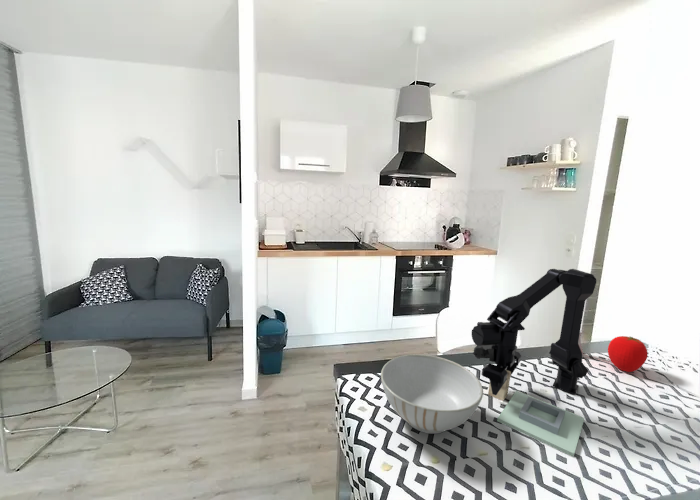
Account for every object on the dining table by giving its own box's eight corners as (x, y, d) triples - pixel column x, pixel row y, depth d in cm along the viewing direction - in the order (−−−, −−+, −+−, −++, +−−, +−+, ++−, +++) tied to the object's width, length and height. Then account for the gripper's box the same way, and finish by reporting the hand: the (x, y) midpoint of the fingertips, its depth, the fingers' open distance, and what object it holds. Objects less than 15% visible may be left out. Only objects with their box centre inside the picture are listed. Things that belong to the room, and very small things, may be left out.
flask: (587, 359, 131) (592, 335, 129) (567, 357, 132) (571, 333, 130) (579, 350, 138) (583, 328, 136) (559, 348, 139) (563, 325, 137)
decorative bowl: (401, 465, 77) (405, 418, 75) (365, 394, 102) (368, 358, 100) (500, 446, 84) (506, 403, 82) (443, 384, 110) (447, 350, 107)
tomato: (610, 372, 122) (617, 339, 120) (601, 359, 132) (607, 328, 129) (648, 380, 118) (657, 346, 115) (636, 366, 128) (644, 334, 125)
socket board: (516, 393, 107) (517, 384, 106) (583, 420, 95) (585, 411, 95) (497, 421, 93) (498, 411, 93) (573, 457, 82) (575, 446, 81)
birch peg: (492, 388, 109) (496, 366, 107) (507, 394, 106) (511, 371, 104) (488, 394, 105) (491, 371, 104) (503, 401, 102) (506, 377, 101)
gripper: (489, 325, 114) (483, 367, 117) (467, 343, 100) (461, 390, 103) (524, 336, 107) (517, 380, 110) (506, 357, 93) (499, 407, 96)
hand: (498, 388), depth 105 cm, fingers open, 8 cm apart
